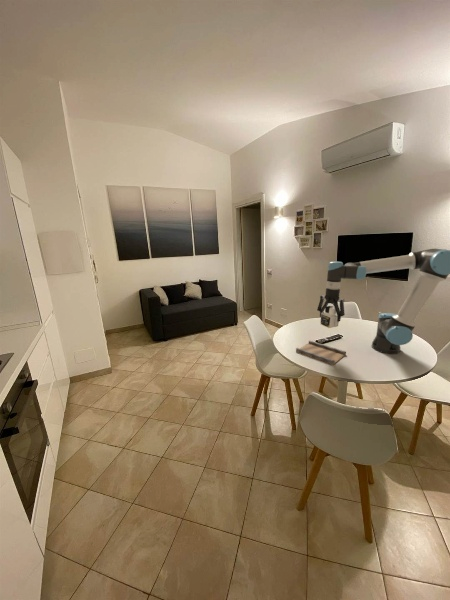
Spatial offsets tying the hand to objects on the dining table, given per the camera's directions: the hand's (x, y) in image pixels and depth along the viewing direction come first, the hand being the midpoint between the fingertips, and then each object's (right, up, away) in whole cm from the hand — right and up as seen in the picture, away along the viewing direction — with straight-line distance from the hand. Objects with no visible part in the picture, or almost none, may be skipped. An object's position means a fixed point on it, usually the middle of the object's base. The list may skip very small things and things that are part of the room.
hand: (329, 324), depth 148 cm
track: (-4, -18, +3) cm, 19 cm away
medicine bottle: (0, -1, 0) cm, 1 cm away
